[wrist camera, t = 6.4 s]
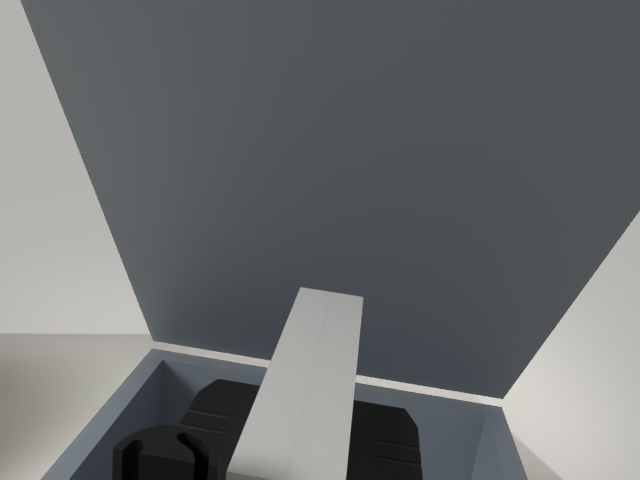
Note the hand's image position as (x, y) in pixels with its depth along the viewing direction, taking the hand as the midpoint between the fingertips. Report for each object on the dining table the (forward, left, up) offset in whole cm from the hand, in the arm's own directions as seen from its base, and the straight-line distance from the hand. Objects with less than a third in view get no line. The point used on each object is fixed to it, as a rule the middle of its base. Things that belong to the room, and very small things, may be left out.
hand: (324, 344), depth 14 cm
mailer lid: (-3, +3, +2) cm, 5 cm away
